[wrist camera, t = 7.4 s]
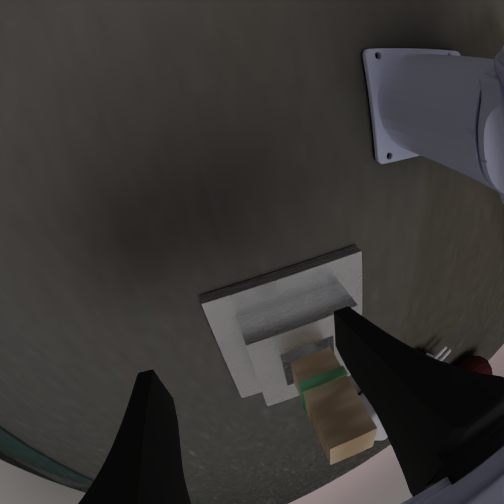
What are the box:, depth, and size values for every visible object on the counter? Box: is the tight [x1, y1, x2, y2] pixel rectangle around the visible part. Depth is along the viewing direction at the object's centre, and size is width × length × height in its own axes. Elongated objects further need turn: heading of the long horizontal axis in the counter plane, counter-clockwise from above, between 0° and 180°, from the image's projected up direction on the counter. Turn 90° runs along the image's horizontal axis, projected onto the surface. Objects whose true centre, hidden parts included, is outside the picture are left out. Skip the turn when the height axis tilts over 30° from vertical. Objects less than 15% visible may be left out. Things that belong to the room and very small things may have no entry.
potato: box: [456, 356, 492, 375], centre depth 38 cm, size 7×8×7 cm
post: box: [290, 347, 377, 465], centre depth 19 cm, size 3×3×7 cm
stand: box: [200, 245, 362, 406], centre depth 25 cm, size 12×12×4 cm
